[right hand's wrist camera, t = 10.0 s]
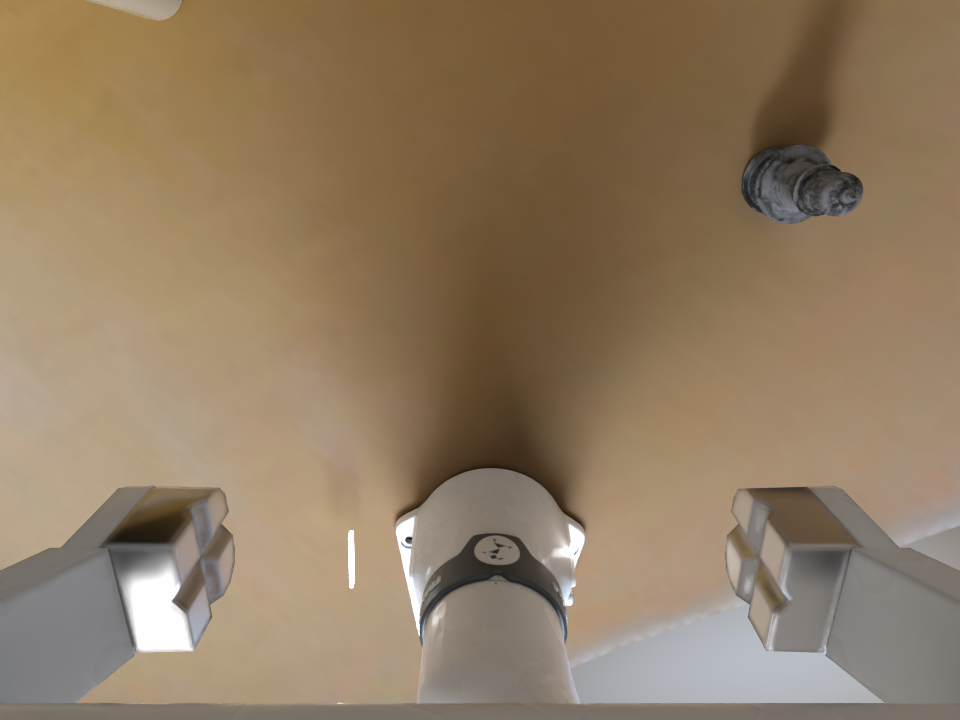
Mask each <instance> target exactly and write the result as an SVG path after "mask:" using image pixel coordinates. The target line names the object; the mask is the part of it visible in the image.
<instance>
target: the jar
mask: <svg viewBox="0 0 960 720" xmlns="http://www.w3.org/2000/svg"><path fill="white" fill-rule="evenodd" d="M86 1H89V2H92V3H96V4H99V5H103V6H106V7H109V8H113V9H116V10H119V11H123V12H126V13H129V14H133V15H136V16H139V17H143V18H146V19H149V20H155V21H160V20H165V19H168V18H170V17H171V16H173V15H174V14H175V13H176V12H177V11H178V9H179V8H180V5H181V3H182V0H86Z"/></svg>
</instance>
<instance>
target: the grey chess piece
mask: <svg viewBox="0 0 960 720" xmlns="http://www.w3.org/2000/svg"><path fill="white" fill-rule="evenodd" d="M742 193H743V195H744V198H745V200H746V202H747V203H748V204H749V206H750V207H752V208H753V209H755V210H756V211H758V212H761V213H763V214H764V215H765V216H767V217H768V218H770V219H771V220H772V221H776V222H779V223H782V224H793V223H798V222H802V221H804V220H806V219H808V218H810V217H812V216H820V215H824V214H826V215H830V216H841V215H845V214H847V213H849V212H851V211H852V210H854V209H855V208H856V207H857V205H858V204H859V203H860V201H861V199H862V195H863V186H862V183H861V181H860V180H859V178H857V177H856V176H854V175H853V174H850V173H846V172H841V171H840V169H838V168H837V167H835V166H833V165H831V163H830V161H829V159H828V158H827V156H826V155H825V154H824V153H823V152H822V151H820V150H819V149H818V148H815V147H812V146H809V145H793V146H788V147H773V148H769V149H767V150H765V151H763V152H761V153H759V154H758V155H757V156H756V157H754V158H753V159H752V161H751V162H750V163H749V165H748V166H747V168H746V170H745V172H744V175H743V179H742Z"/></svg>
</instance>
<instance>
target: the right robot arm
mask: <svg viewBox="0 0 960 720" xmlns="http://www.w3.org/2000/svg"><path fill="white" fill-rule="evenodd" d="M228 512H229V511H228V506H227V501H226V496H225V493H224V492H223V491H222V490H221V489H220V488H212V487H162V486H158V487H155V486H127V487H122V488H118V489H117V491H116V492H115V493H114V494H113V495H112V496H111V497H110V498H109V499H108V500H107V501H106V502H105V503H104V504H103V505H102V506H101V507H100V508H99V509H98V510H97V511H96V512H95V513H94V514H93V515H92V516H91V517H90V518H89V519H88V520H87V521H86V522H85V523H84V524H83V525H82V526H81V527H80V528H79V529H78V530H77V531H76V532H75V534H74V535H73V536H72V537H71V538H70V539H69V540H68V541H67V542H66V543H65V544H64V545H63V546H62V547H61V548H49V549H47V550H44V551H42V552H40V553H38V554H36V555H33V556H31V557H29V558H27V559H25V560H23V561H20V562H18V563H16V564H14V565H12V566H9V567H7V568H5V569H3V570H1V571H0V720H960V571H959V570H957V569H955V568H953V567H950V566H948V565H946V564H944V563H942V562H939V561H937V560H935V559H933V558H931V557H929V556H926V555H924V554H922V553H920V552H918V551H916V550H913V549H911V548H899V547H898V546H897V545H896V544H895V543H894V542H893V541H892V540H891V539H890V538H889V537H888V535H887V534H886V533H885V532H884V531H883V530H882V529H881V528H880V527H879V526H878V525H877V524H876V523H875V522H874V521H873V520H872V519H871V518H870V517H869V516H868V515H867V514H866V513H865V512H864V511H863V510H862V509H861V508H860V507H859V506H858V505H857V504H856V503H855V502H854V501H853V500H852V499H851V497H850V496H849V495H848V494H847V493H846V492H845V491H844V490H843V489H841V488H838V487H836V486H814V487H787V488H747V489H738V490H737V492H736V494H735V496H734V499H733V505H732V510H731V512H732V513H733V515H734V517H735V518H736V520H737V521H738V523H739V524H738V525H737V526H736V527H735V528H734V529H733V530H732V531H731V532H730V533H729V534H728V535H727V542H726V550H725V558H726V569H727V574H728V577H729V580H730V584H731V586H732V588H733V589H734V591H735V593H736V595H737V596H738V597H739V598H741V599H742V600H744V601H745V602H747V603H748V604H750V608H749V614H748V618H749V620H750V622H751V623H752V625H753V627H754V629H755V631H756V633H757V635H758V636H759V638H760V640H761V642H762V644H763V646H764V648H765V649H766V651H784V652H821V653H826V656H827V657H828V658H829V659H831V660H832V661H833V662H834V663H836V664H837V665H838V666H839V667H841V668H842V669H843V670H844V671H846V672H847V673H848V674H849V675H851V676H852V677H853V678H854V679H856V680H857V681H858V682H859V683H861V684H862V685H863V686H864V687H866V688H867V689H868V690H869V691H871V692H872V693H873V694H874V695H876V696H877V697H878V698H879V699H881V700H882V701H883V702H884V703H580V702H579V699H578V696H577V693H576V689H575V686H574V682H573V678H572V675H571V670H570V666H569V662H568V658H567V653H566V648H565V643H566V639H567V624H568V612H567V610H566V606H565V605H569V606H571V605H572V603H573V598H574V594H573V591H572V590H571V588H572V587H574V586H575V585H576V575H575V566H576V563H577V561H578V558H579V555H580V553H581V550H582V547H583V545H584V542H585V531H584V529H583V527H582V526H581V525H580V524H579V523H577V522H576V521H575V520H573V519H572V518H570V517H568V516H567V515H565V514H564V513H563V512H562V511H561V509H560V508H559V506H558V505H557V503H556V502H555V500H554V499H553V497H552V496H551V495H550V493H549V492H548V491H547V490H546V489H545V488H544V487H543V486H541V485H540V484H539V483H538V482H536V481H535V480H533V479H531V478H530V477H528V476H525V475H523V474H521V473H518V472H515V471H511V470H506V469H499V468H483V469H476V470H471V471H467V472H464V473H461V474H459V475H456V476H454V477H452V478H450V479H449V480H447V481H446V482H444V483H443V484H441V485H440V486H439V487H438V488H437V489H436V490H435V491H434V492H433V493H432V494H431V495H430V496H429V497H428V499H427V500H426V501H425V502H424V503H423V504H422V505H421V506H420V507H418V508H416V509H414V510H412V511H410V512H408V513H407V514H405V515H403V516H402V517H400V518H399V519H398V521H397V522H396V536H397V540H398V545H399V549H400V554H401V558H402V563H403V567H404V572H405V576H406V581H407V585H408V590H409V594H410V599H411V603H412V608H413V612H414V617H415V621H416V626H417V630H418V634H419V637H420V641H421V645H422V657H421V666H420V676H419V685H418V694H417V703H76V702H77V701H78V700H80V699H81V698H82V697H83V696H85V695H86V694H87V693H88V692H90V691H91V690H92V689H93V688H95V687H96V686H97V685H98V684H100V683H101V682H102V681H103V680H105V679H106V678H107V677H108V676H110V675H111V674H112V673H113V672H115V671H116V670H117V669H118V668H120V667H121V666H122V665H123V664H125V663H126V662H127V661H128V660H130V659H131V658H132V657H133V656H134V653H140V652H175V651H194V649H195V648H196V646H197V644H198V642H199V640H200V638H201V637H202V635H203V633H204V631H205V629H206V627H207V625H208V624H209V622H210V620H211V618H212V614H211V608H210V604H212V603H213V602H215V601H216V600H218V599H219V598H221V597H222V596H223V595H224V593H225V591H226V589H227V587H228V585H229V583H230V581H231V577H232V572H233V568H234V562H235V547H234V541H233V535H232V534H231V533H230V532H229V531H228V530H227V529H226V528H225V527H224V526H223V525H222V524H221V523H222V521H223V520H224V518H225V517H226V515H227V513H228ZM407 537H412V539H408V538H407ZM348 544H349V581H350V588H353V586H354V582H355V577H354V534H353V531H350V533H349V536H348Z"/></svg>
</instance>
